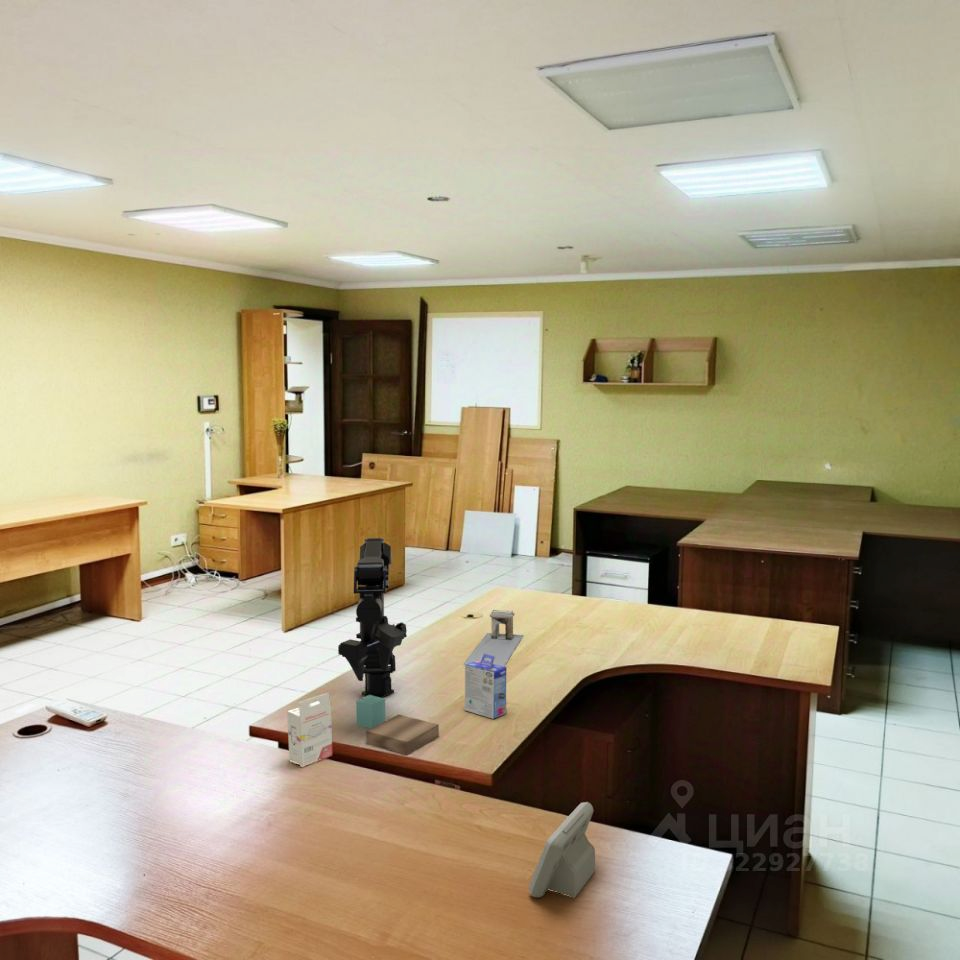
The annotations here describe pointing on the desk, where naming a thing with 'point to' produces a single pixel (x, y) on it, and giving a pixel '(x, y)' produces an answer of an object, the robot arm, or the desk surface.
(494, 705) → the ink cartridge box
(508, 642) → the grey sheet with arch
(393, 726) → the walnut plinth
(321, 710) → the ink cartridge box
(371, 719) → the teal block
